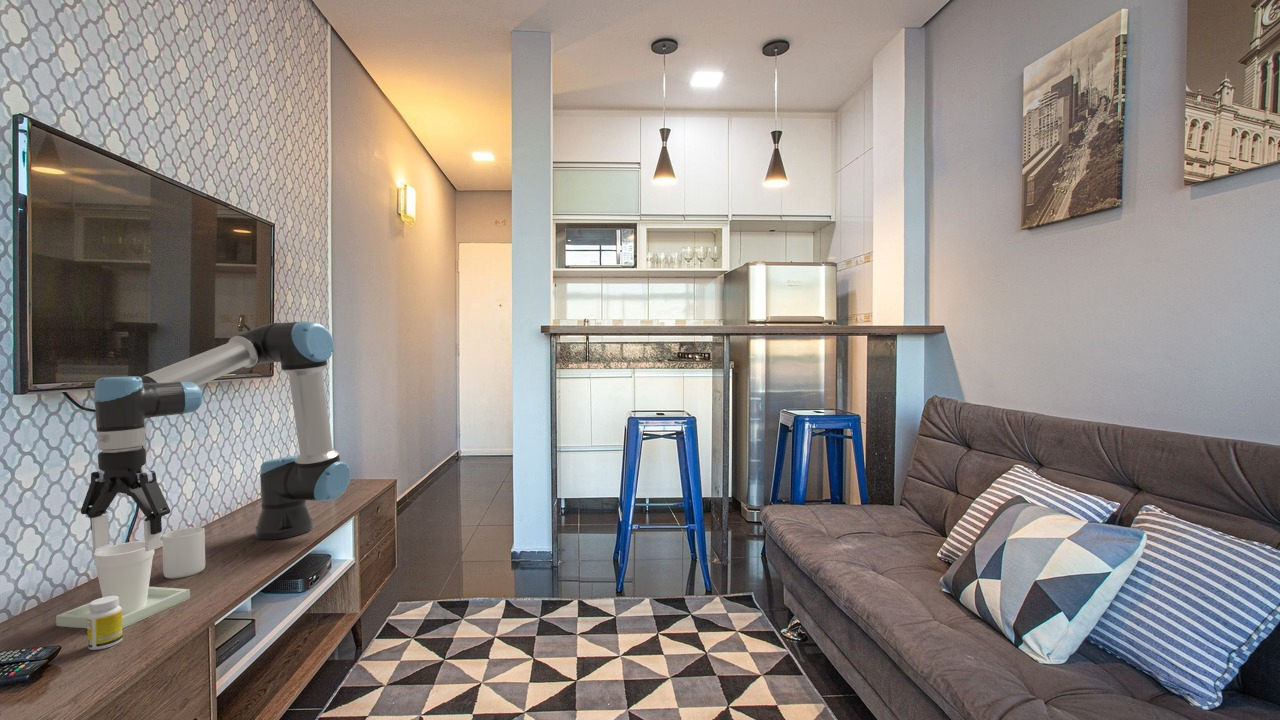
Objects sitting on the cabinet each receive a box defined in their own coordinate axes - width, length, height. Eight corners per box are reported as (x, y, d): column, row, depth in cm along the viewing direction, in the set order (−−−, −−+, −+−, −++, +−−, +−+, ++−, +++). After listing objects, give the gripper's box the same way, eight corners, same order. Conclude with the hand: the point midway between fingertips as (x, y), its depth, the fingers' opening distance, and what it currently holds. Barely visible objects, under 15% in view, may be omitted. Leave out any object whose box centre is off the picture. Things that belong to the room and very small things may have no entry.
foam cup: (84, 621, 114) (82, 558, 114) (113, 602, 123) (111, 543, 123) (140, 615, 117) (138, 552, 117) (164, 596, 126) (163, 539, 126)
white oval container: (176, 564, 147) (175, 525, 147) (214, 560, 150) (213, 521, 150) (157, 581, 136) (156, 539, 136) (199, 575, 139) (198, 534, 139)
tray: (135, 594, 129) (134, 585, 129) (189, 598, 126) (189, 589, 126) (56, 625, 114) (56, 615, 114) (116, 631, 111) (116, 620, 111)
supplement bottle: (129, 637, 109) (128, 594, 109) (107, 650, 104) (106, 605, 104) (104, 638, 108) (102, 595, 108) (80, 651, 104) (79, 605, 104)
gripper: (54, 451, 118) (59, 551, 119) (152, 453, 114) (157, 556, 114) (94, 445, 126) (99, 539, 126) (188, 446, 121) (192, 543, 122)
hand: (127, 547), depth 120 cm, fingers open, 13 cm apart
